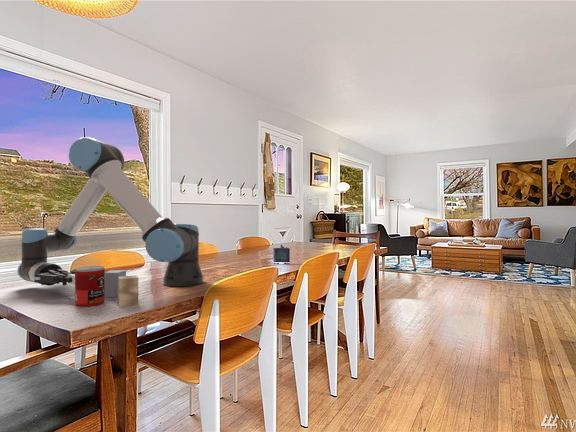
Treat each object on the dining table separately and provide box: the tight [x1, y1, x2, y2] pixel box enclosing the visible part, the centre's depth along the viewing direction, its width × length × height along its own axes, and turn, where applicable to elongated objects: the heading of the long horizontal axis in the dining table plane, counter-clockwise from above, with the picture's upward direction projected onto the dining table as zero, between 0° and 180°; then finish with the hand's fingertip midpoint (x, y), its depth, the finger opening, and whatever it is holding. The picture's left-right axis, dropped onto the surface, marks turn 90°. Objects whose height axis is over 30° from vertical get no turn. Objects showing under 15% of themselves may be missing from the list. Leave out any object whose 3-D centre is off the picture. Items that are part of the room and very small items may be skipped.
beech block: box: [117, 274, 139, 307], centre depth 104 cm, size 5×5×8 cm
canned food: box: [74, 265, 106, 308], centre depth 103 cm, size 8×8×11 cm
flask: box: [272, 244, 291, 263], centre depth 190 cm, size 9×3×11 cm, turn 84°
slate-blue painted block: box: [105, 269, 127, 298], centre depth 115 cm, size 5×5×8 cm
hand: (79, 280), depth 107 cm, fingers closed
